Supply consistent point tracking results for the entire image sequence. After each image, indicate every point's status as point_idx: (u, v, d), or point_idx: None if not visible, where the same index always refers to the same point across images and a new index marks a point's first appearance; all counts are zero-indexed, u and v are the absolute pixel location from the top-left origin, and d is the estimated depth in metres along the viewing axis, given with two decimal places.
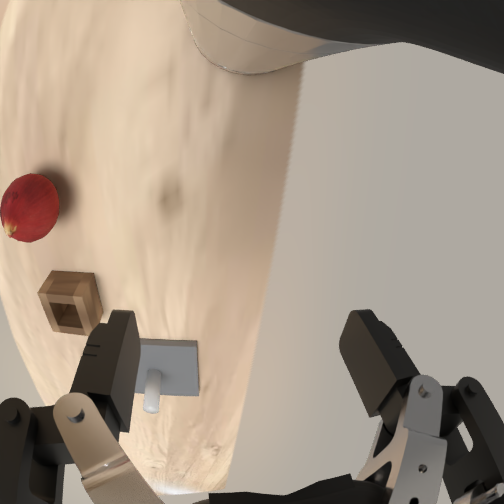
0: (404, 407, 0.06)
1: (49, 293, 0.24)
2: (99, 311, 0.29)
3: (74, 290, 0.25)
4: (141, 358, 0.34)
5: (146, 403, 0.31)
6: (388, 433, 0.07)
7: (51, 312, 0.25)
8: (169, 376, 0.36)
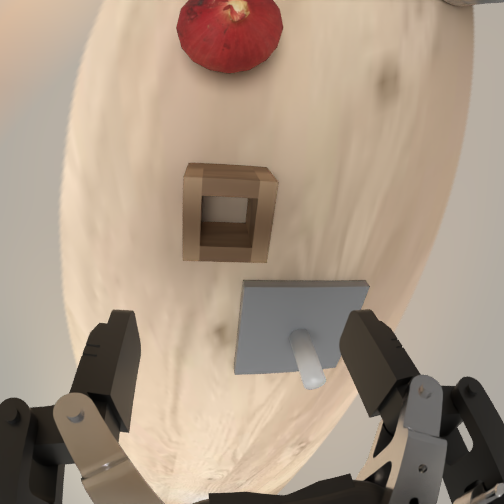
0: (404, 407, 0.06)
1: (210, 177, 0.17)
2: None
3: (256, 176, 0.18)
4: (292, 312, 0.26)
5: (311, 373, 0.23)
6: (388, 433, 0.07)
7: (198, 218, 0.18)
8: (315, 339, 0.29)
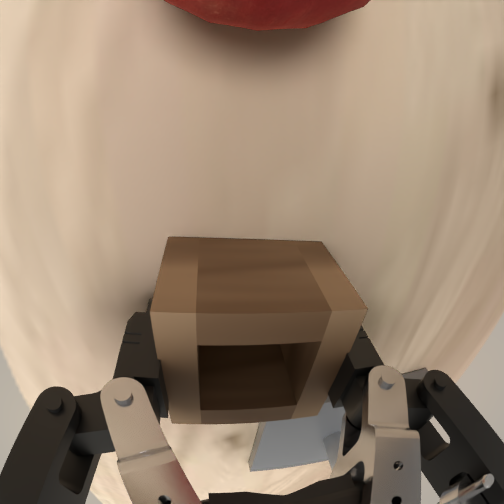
0: (366, 403, 0.07)
1: (215, 311, 0.07)
2: None
3: (317, 291, 0.08)
4: (332, 421, 0.17)
5: None
6: (354, 427, 0.08)
7: (193, 378, 0.08)
8: None
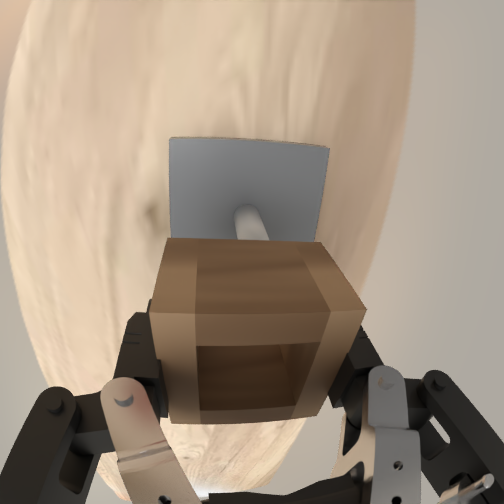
0: (366, 402, 0.07)
1: (214, 311, 0.07)
2: None
3: (316, 291, 0.08)
4: (232, 177, 0.21)
5: (250, 238, 0.18)
6: (354, 427, 0.08)
7: (192, 378, 0.08)
8: (270, 225, 0.24)
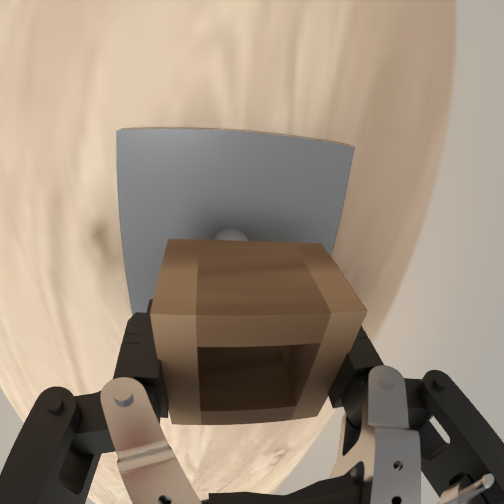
0: (366, 402, 0.07)
1: (215, 313, 0.07)
2: None
3: (317, 292, 0.08)
4: (208, 186, 0.14)
5: None
6: (354, 427, 0.08)
7: (193, 379, 0.08)
8: None
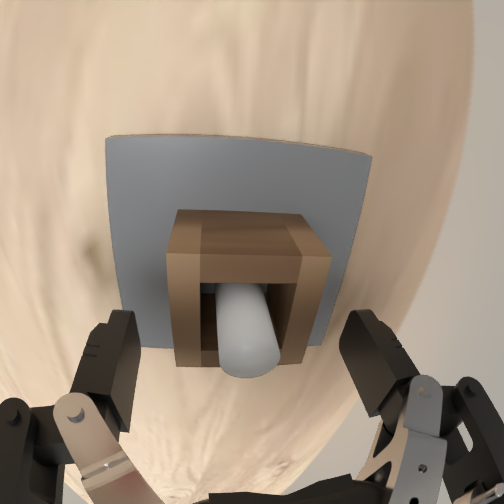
0: (404, 407, 0.06)
1: (214, 253, 0.09)
2: None
3: (293, 244, 0.11)
4: (210, 202, 0.13)
5: (236, 332, 0.09)
6: (388, 433, 0.07)
7: (195, 315, 0.10)
8: None
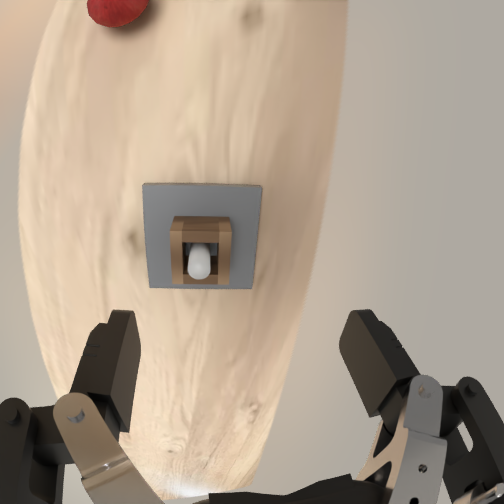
0: (404, 407, 0.06)
1: (186, 230, 0.26)
2: None
3: (217, 227, 0.27)
4: (188, 212, 0.29)
5: (193, 258, 0.25)
6: (388, 433, 0.07)
7: (180, 256, 0.27)
8: None
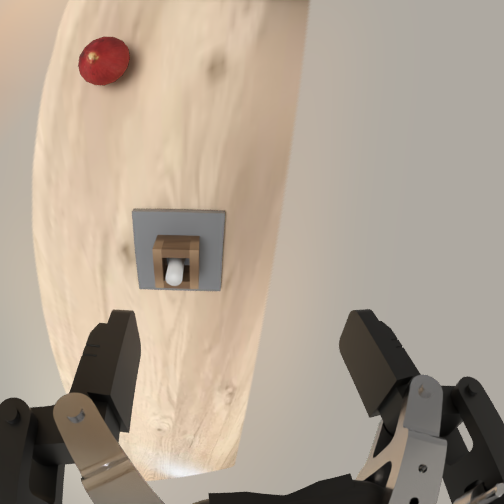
0: (404, 407, 0.06)
1: (165, 249, 0.34)
2: None
3: (188, 246, 0.35)
4: (167, 232, 0.37)
5: (170, 270, 0.33)
6: (388, 433, 0.07)
7: (161, 267, 0.35)
8: None
